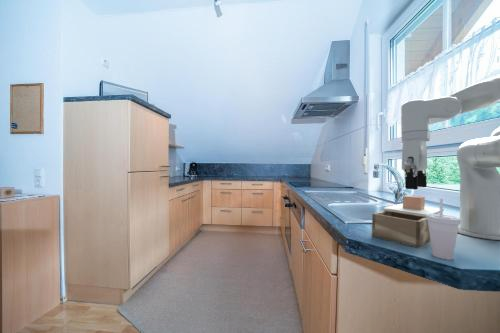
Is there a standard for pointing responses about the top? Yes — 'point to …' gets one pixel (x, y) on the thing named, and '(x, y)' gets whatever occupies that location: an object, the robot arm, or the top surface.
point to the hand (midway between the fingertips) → (416, 187)
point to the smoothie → (443, 233)
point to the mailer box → (401, 228)
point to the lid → (413, 207)
